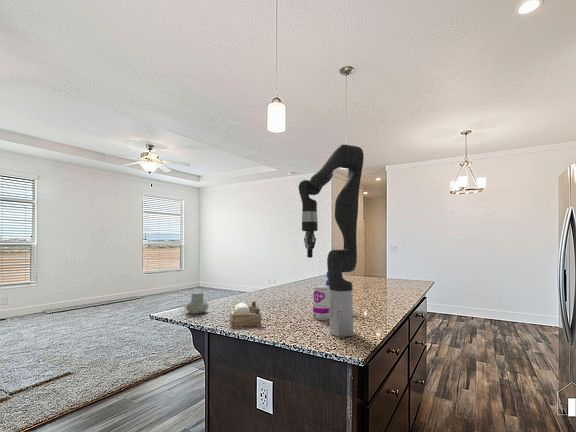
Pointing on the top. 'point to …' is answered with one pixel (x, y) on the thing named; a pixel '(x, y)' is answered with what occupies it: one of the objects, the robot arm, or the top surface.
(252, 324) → the holder
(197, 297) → the air freshener
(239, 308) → the roll
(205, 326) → the top surface
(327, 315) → the supplement can
